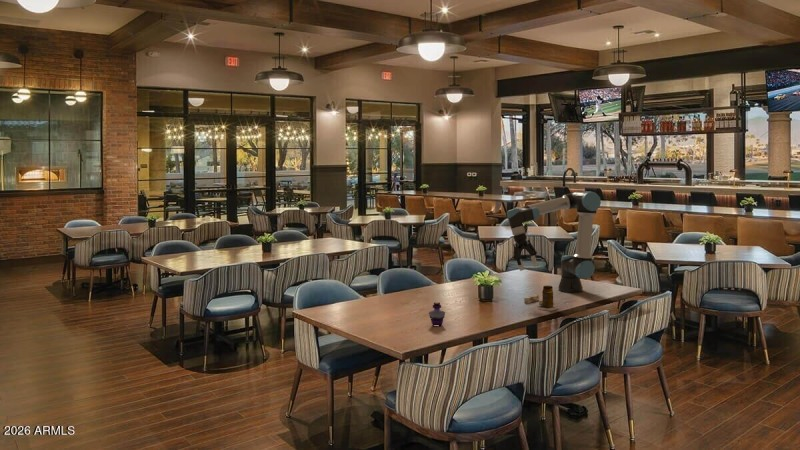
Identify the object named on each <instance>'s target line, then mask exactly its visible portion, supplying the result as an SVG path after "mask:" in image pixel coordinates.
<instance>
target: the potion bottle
mask: <svg viewBox="0 0 800 450" xmlns="http://www.w3.org/2000/svg"><path fill="white" fill-rule="evenodd" d="M441 308H442V305H441V302H438V301H436V302H435V301H434V302H433V304H432V309H433V310H430V311H428V315H429V318H430V322H431V325H432V324H433V325H442V326H443V324H444V323H443V322H444V318H445V316H446V315H445V314H446V311H444V310H441Z"/></svg>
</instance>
